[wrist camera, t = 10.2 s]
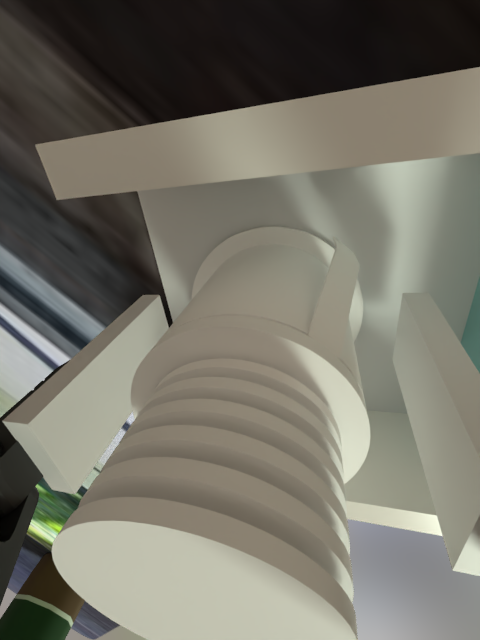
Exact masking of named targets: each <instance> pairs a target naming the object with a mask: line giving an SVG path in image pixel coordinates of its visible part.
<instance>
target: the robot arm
mask: <svg viewBox="0 0 480 640" xmlns="http://www.w3.org/2000/svg"><path fill="white" fill-rule="evenodd" d="M168 329H169V327H168V323H167V319H166V316H165V312H164V309H163V305H162V302H161V298H160V295H143V296H141V297H140V298H139V299H138V300H137V301H136V302H135V303H134V304H132V305H131V306H130V307H129V308H128V309H127V310H126V311H125V312H124V313H122V314H121V315H120V316H119V317H118V318H117V319H116V320H115V321H113V322H112V323H111V324H110V325H109V326H108V327H107V328H106V329H105V330H103V331H102V332H101V333H100V334H99V335H98V336H97V337H96V338H94V339H93V340H92V341H91V342H90V343H89V344H88V345H87V346H86V347H84V348H83V349H82V350H81V351H80V352H79V353H78V354H77V355H75V356H74V357H73V358H72V359H71V360H69V361H68V362H66V363H64V364H63V365H61V366H59V367H58V368H56V369H55V370H54V371H53V372H52V373H51V374H49V375H48V376H47V377H46V378H45V381H42V382H40V383H39V384H38V385H37V386H36V387H35V388H34V390H33V391H32V390H31V391H30V392H29V393H28V394H27V395H26V396H24V397H23V398H22V399H21V400H20V401H19V402H18V403H16V404H15V405H14V406H13V407H12V408H11V409H10V410H9V411H7V412H6V413H5V414H4V415H3V416H2V417H1V418H0V605H1V602H2V600H3V597H4V594H5V591H6V589H7V586H8V583H9V580H10V578H11V575H12V572H13V569H14V566H15V564H16V561H17V558H18V555H19V553H20V550H21V547H22V544H23V542H24V539H25V536H26V533H27V530H28V528H29V525H30V522H31V519H32V517H33V514H34V511H35V508H36V506H37V503H38V498H39V492H38V490H37V488H36V487H35V486H36V485H37V483H38V482H39V481H40V480H41V479H42V477H44V479H45V480H46V482H47V483H48V484H49V486H50V487H51V488H52V490H56V491H61V492H66V493H71V494H76V492H77V491H78V489H79V488H80V486H81V485H82V484H83V482H84V481H85V479H86V478H87V476H88V475H89V473H90V472H91V471H92V469H93V468H94V466H95V465H96V463H97V462H98V460H99V459H100V458H101V456H102V455H103V453H104V452H105V450H106V449H107V447H108V446H109V445H110V443H111V442H112V440H113V439H114V437H115V436H116V434H117V433H118V432H119V430H120V429H121V427H122V426H123V424H124V423H125V421H126V420H127V419H128V417H129V416H130V414H131V413H132V406H131V385H132V381H133V377H134V375H135V372H136V370H137V368H138V366H139V365H140V363H141V362H142V360H143V359H144V358H145V356H146V355H147V354H148V353H149V352H150V350H151V349H152V348H153V347H154V346H155V344H156V343H157V342H158V341H159V340H160V338H161V337H162V336H163V335H164V333H165V332H166V331H167V330H168ZM392 360H393V364H394V367H395V371H396V374H397V378H398V381H399V385H400V388H401V392H402V395H403V399H404V402H405V406H406V409H407V413H408V416H409V420H410V423H411V427H412V430H413V434H414V437H415V441H416V444H417V448H418V451H419V455H420V458H421V462H422V465H423V469H424V472H425V476H426V479H427V483H428V486H429V490H430V493H431V497H432V500H433V504H434V507H435V511H436V514H437V518H438V521H439V525H440V528H441V532H442V535H443V539H444V542H445V546H446V549H447V553H448V556H449V560H450V563H451V567H452V570H453V571H458V572H463V573H468V574H473V575H478V576H480V373H479V372H478V370H477V369H476V367H475V365H474V364H473V362H472V361H471V359H470V357H469V356H468V354H467V353H466V351H465V349H464V348H463V346H462V345H461V343H460V342H459V340H458V338H457V337H456V335H455V334H454V332H453V330H452V329H451V327H450V326H449V324H448V322H447V321H446V319H445V318H444V316H443V314H442V313H441V311H440V310H439V308H438V307H437V305H436V303H435V302H434V300H433V299H432V297H431V295H430V294H429V293H403V294H402V300H401V307H400V313H399V320H398V326H397V333H396V339H395V345H394V352H393V358H392Z"/></svg>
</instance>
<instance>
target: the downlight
mask: <svg viewBox="0 0 480 640" xmlns="http://www.w3.org/2000/svg"><path fill="white" fill-rule="evenodd" d="M333 240H334V243H335V246H336V249H335V248H334V247H333V246H331V245H330V244H328V243H327V242H326V241H324V240H322V239H320V238H319V237H317V236H315V235H313V234H310V233H308V232H305V231H302V230H299V229H294V228H290V227H282V226H266V227H258V228H252V229H249V230H246V231H243V232H240V233H238V234H235V235H233V236H232V237H230V238H228V239H226V240H225V241H223V242H222V243H221V244H219V245H218V246H217V247H216V248H215V249H214V250H213V251H212V252H211V253H210V254H209V255H208V256H207V258H206V259H205V260H204V262H203V263H202V265H201V267H200V268H199V270H198V273H197V275H196V278H195V281H194V285H193V289H192V300H191V302H190V303H189V304H188V305H187V307H186V308H185V309H184V310H183V311H182V313H181V314H180V315H179V316H178V318H177V319H176V320H175V321H174V322H173V324H172V325H171V326H170V327H169V329H168V330H167V331H166V332H165V333H164V335H163V336H162V337H161V338H160V340H159V341H158V342H157V343H156V344H155V346H154V347H153V348H152V349H151V350H150V352H149V353H148V354H147V355H146V356H145V358H144V359H143V360H142V362H141V363H140V365H139V366H138V368H137V370H136V372H135V375H134V377H133V381H132V385H131V406H132V411H133V415H134V418H135V421H134V422H133V423H132V424H131V426H130V427H129V429H128V430H127V432H126V433H125V435H124V436H123V438H122V439H121V441H120V443H119V445H118V446H117V447H116V448H115V450H114V451H113V453H112V454H111V456H110V457H109V459H108V460H107V462H106V463H105V465H104V466H103V468H102V470H101V473H100V474H99V475H98V476H97V477H96V478H95V480H94V481H93V483H92V484H91V486H90V487H89V489H88V490H87V492H86V493H85V495H84V496H83V498H82V499H81V501H80V504H79V506H78V509H77V510H76V511H75V512H74V513H73V514H72V515H71V516H70V517H69V519H68V520H67V522H66V523H65V525H64V526H63V528H62V529H61V531H60V532H59V534H58V535H57V537H56V538H55V540H54V542H53V545H52V558H53V561H54V564H55V566H56V568H57V570H58V572H59V573H60V575H61V576H62V578H63V579H64V580H65V581H66V582H67V584H68V585H69V586H70V587H71V588H72V589H73V590H74V591H75V592H76V593H77V594H78V595H79V596H80V597H81V598H83V599H84V600H85V601H86V602H87V603H89V604H90V605H91V606H93V607H94V608H95V609H97V610H98V611H99V612H101V613H102V614H104V615H105V616H107V617H108V618H110V619H111V620H113V621H115V622H116V623H118V624H120V625H121V626H123V627H125V628H126V629H128V630H130V631H132V632H134V633H136V634H138V635H140V636H142V637H144V638H145V639H147V640H358V638H357V625H356V615H355V610H354V607H353V604H352V602H353V596H354V591H353V578H352V566H351V560H350V557H349V555H350V543H349V542H350V541H349V529H348V521H347V505H346V494H345V486H344V484H345V483H347V482H348V481H349V480H350V479H351V478H352V477H353V476H354V475H355V474H356V473H357V472H358V470H359V469H360V468H361V466H362V464H363V463H364V461H365V458H366V456H367V453H368V450H369V446H370V424H369V419H368V414H367V409H366V404H365V399H364V394H363V389H362V384H361V378H360V373H359V368H358V363H357V357H356V352H355V347H354V341H355V339H356V337H357V335H358V333H359V330H360V327H361V323H362V318H363V298H362V292H361V289H360V285H359V282H358V280H357V275H358V271H359V266H360V264H359V262H358V260H357V258H356V256H355V254H354V252H352V251H351V250H350V249H349V248H347V247H346V246H345V245H344V244H343V243H341V242H340V241H339V240H338V239H336V238H335V237H334V236H333Z"/></svg>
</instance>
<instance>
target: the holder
mask: <svg viewBox="0 0 480 640" xmlns="http://www.w3.org/2000/svg"><path fill="white" fill-rule="evenodd" d="M35 146H36V149H37V151H38V154H39V156H40V159H41V161H42V164H43V166H44V169H45V171H46V174H47V176H48V179H49V181H50V184H51V186H52V189H53V191H54V194H55V196H56V199H57V200H61V199H70V198H79V197H88V196H97V195H106V194H115V193H124V192H133V191H137V192H138V195H139V199H140V203H141V207H142V210H143V214H144V218H145V221H146V225H147V229H148V232H149V236H150V240H151V243H152V247H153V251H154V254H155V258H156V262H157V265H158V269H159V273H160V276H161V280H162V284H163V287H164V291H165V295H166V299H167V302H168V306H169V310H170V313H171V317H172V321H173V322H174V321H175V320H176V319H177V318H178V316H179V315H180V314H181V313H182V311H183V310H184V309H185V308H186V307H187V305H188V304H189V303H190V302H191V300H192V289H193V285H194V281H195V278H196V275H197V273H198V270H199V268H200V267H201V265H202V263H203V262H204V260H205V259H206V258H207V256H208V255H209V254H210V253H211V252H212V251H213V250H214V249H215V248H216V247H217V246H218V245H219V244H221V243H222V242H223V241H225V240H226V239H228V238H230V237H232V236H233V235H235V234H238V233H240V232H243V231H246V230H249V229H252V228H258V227H266V226H282V227H290V228H294V229H299V230H302V231H305V232H308V233H310V234H313V235H315V236H317V237H319V238H320V239H322V240H324V241H326V242H327V243H328V244H330V245H331V246H333V247H334V248H335V249H336V246H335V243H334V240H333V236H334V237H335V238H336V239H338V240H339V241H340V242H341V243H343V244H344V245H345V246H346V247H347V248H349V249H350V250H351V251H352V252H354V254H355V256H356V258H357V260H358V262H359V264H360V266H359V271H358V275H357V280H358V282H359V285H360V289H361V292H362V298H363V318H362V323H361V327H360V330H359V333H358V335H357V337H356V339H355V341H354V347H355V352H356V357H357V363H358V368H359V373H360V378H361V384H362V389H363V394H364V399H365V404H366V409H367V414H368V419H369V424H370V446H369V450H368V453H367V456H366V458H365V461H364V463H363V464H362V466H361V468H360V469H359V470H358V472H357V473H356V474H355V475H354V476H353V477H352V478H351V479H350V480H349V481H348V482H347V483H345V484H344V486H345V494H346V505H347V519H351V520H356V521H361V522H368V523H373V524H378V525H384V526H390V527H395V528H401V529H407V530H412V531H418V532H424V533H429V534H435V535H440V536H443V535H442V532H441V528H440V525H439V521H438V518H437V514H436V511H435V507H434V504H433V500H432V497H431V493H430V490H429V486H428V483H427V479H426V476H425V472H424V469H423V465H422V462H421V458H420V455H419V451H418V448H417V444H416V441H415V437H414V434H413V430H412V427H411V423H410V420H409V416H408V413H407V409H406V406H405V402H404V399H403V395H402V392H401V388H400V385H399V381H398V378H397V374H396V371H395V367H394V364H393V360H392V358H393V352H394V345H395V339H396V333H397V326H398V320H399V313H400V307H401V300H402V294H403V293H429V294H430V295H431V297H432V299H433V300H434V302H435V303H436V305H437V307H438V308H439V310H440V311H441V313H442V314H443V316H444V318H445V319H446V321H447V322H448V324H449V326H450V327H451V329H452V330H453V332H454V334H455V335H456V337H457V338H458V340H459V342H460V343H461V345H462V346H463V348H464V349H465V351H466V353H467V354H468V356H469V357H470V359H471V361H472V362H473V364H474V365H475V367H476V369H477V370H478V372H479V373H480V67H477V68H471V69H466V70H460V71H454V72H448V73H443V74H437V75H431V76H425V77H420V78H414V79H408V80H403V81H397V82H391V83H385V84H380V85H374V86H368V87H362V88H357V89H351V90H345V91H340V92H334V93H328V94H322V95H317V96H311V97H305V98H299V99H294V100H288V101H282V102H277V103H271V104H265V105H259V106H254V107H248V108H242V109H236V110H231V111H225V112H219V113H214V114H208V115H202V116H196V117H191V118H185V119H179V120H173V121H168V122H162V123H156V124H151V125H145V126H139V127H133V128H128V129H122V130H116V131H110V132H105V133H99V134H93V135H88V136H82V137H76V138H70V139H65V140H59V141H53V142H47V143H42V144H36V145H35Z"/></svg>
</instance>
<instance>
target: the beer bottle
mask: <svg viewBox="0 0 480 640" xmlns="http://www.w3.org/2000/svg"><path fill="white" fill-rule="evenodd" d="M84 601H85V600H84V599H83V598H81V597H80V596H79V595H78V594H77V593H76V592H75V591H74V590H73V589H72V588H71V587H70V586H69V585H68V584H67V582H66V581H65V580H64V579H63V578H62V576H61V575H60V573H59V572H58V570H57V568H56V566H55V564H54V561H53V558H52V553H47V554H45V555H44V556H43V557H42V559H41V560H40V561H39V563H38V564H37V566H36V567H35V568H34V570H33V571H32V572H31V574H30V575H29V577H28V578H27V580H26V581H25V583H24V584H23V586H22V587H21V589H20V590H19V592H18V593H17V595H16V596H15V598H14V600H13V601H12V602H11V604H10V606H9V607H8V608H7V610H6V611H5V613H4V614H3V616H2V617H1V619H0V640H65V638H66V636H67V634H68V632H69V630H70V628H71V627H72V625H73V623H74V621H75V619H76V617H77V615H78V613H79V611H80V609H81V607H82V605H83V603H84Z"/></svg>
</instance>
